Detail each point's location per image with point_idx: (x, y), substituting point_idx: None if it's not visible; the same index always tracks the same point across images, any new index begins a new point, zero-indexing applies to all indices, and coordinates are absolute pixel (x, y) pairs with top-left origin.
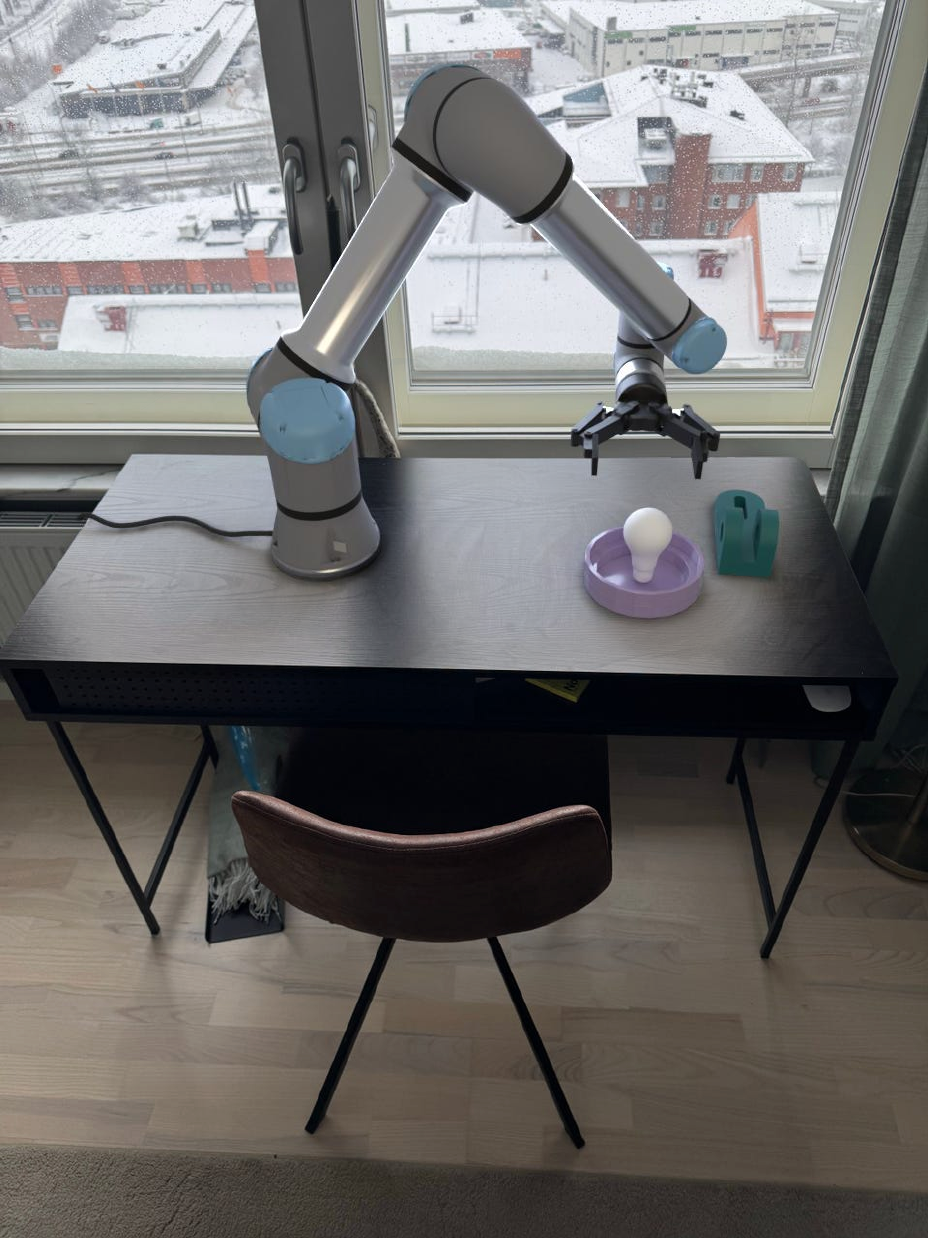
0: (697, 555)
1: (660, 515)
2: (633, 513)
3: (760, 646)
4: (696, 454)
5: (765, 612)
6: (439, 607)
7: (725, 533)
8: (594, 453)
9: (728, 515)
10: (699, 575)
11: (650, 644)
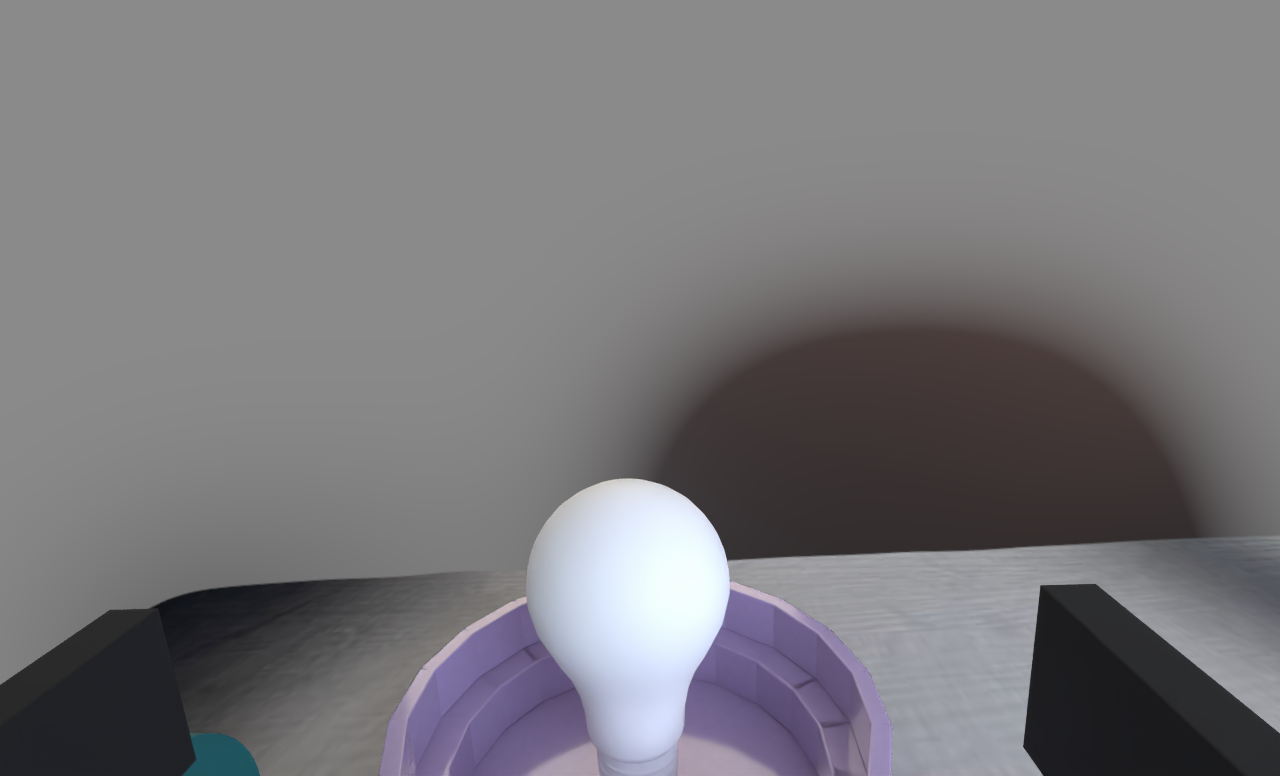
0: (407, 736)
1: (581, 493)
2: (692, 519)
3: (377, 622)
4: (48, 693)
5: (272, 717)
6: (1274, 667)
7: (233, 740)
8: (1134, 631)
9: None
10: (459, 635)
11: None
